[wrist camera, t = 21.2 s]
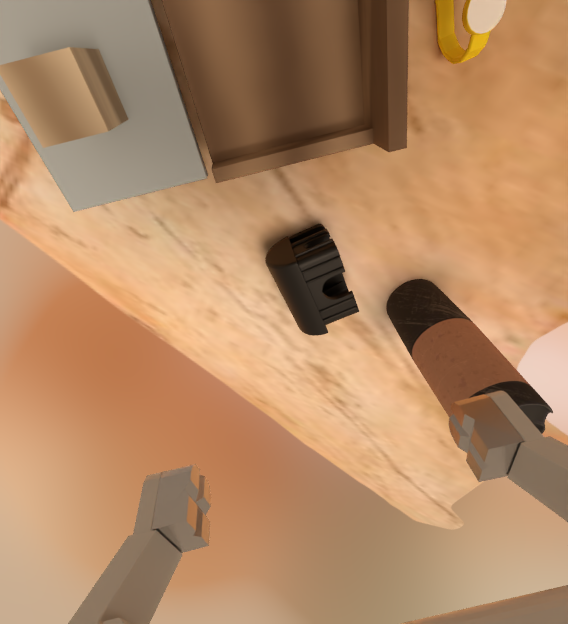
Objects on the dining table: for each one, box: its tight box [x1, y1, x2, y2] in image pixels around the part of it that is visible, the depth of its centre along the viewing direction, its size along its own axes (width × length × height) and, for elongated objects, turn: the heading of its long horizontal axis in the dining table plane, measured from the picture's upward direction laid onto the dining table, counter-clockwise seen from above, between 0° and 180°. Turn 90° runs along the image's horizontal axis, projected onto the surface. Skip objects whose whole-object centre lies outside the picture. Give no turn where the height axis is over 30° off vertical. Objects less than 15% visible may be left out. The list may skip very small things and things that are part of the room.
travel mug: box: [387, 279, 553, 434], centre depth 38 cm, size 8×8×20 cm
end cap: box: [266, 224, 359, 335], centre depth 38 cm, size 10×7×7 cm
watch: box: [435, 0, 506, 64], centre depth 26 cm, size 6×3×6 cm, turn 20°
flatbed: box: [162, 0, 409, 183], centre depth 23 cm, size 13×16×12 cm
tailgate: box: [0, 0, 208, 212], centre depth 24 cm, size 2×14×11 cm
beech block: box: [0, 47, 128, 148], centre depth 21 cm, size 4×4×5 cm
